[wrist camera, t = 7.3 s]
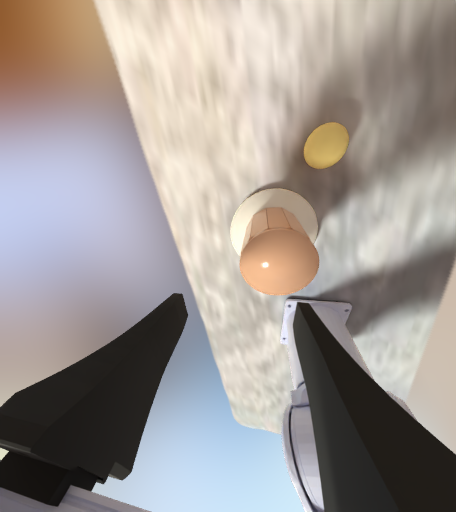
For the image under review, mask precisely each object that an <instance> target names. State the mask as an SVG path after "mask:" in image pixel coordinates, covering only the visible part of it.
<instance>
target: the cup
mask: <svg viewBox="0 0 456 512" xmlns="http://www.w3.org/2000/svg"><path fill="white" fill-rule="evenodd" d="M318 268H319V256H318V252H317V250H316V248H315V246H314V245H313V243H312V242H311V240H310V238H309V236H308V235H307V233H306V232H305V230H304V229H303V227H302V226H301V224H300V223H299V221H298V220H297V218H296V217H295V215H294V214H293V213H291V212H289V211H287V210H286V209H284V208H282V207H269V208H264V209H263V210H261V211H259V212H258V213H256V214H254V215H253V216H252V218H251V220H250V222H249V223H248V225H247V227H246V231H245V236H244V240H243V245H242V249H241V257H240V271H241V274H242V276H243V278H244V279H245V281H246V282H247V283H248V284H249V285H250V286H251V287H253V288H254V289H256V290H257V291H260V292H262V293H265V294H269V295H287V294H291V293H294V292H297V291H299V290H301V289H303V288H304V287H306V286H307V285H308V284H309V283H310V282H311V281H312V280H313V279H314V277H315V275H316V273H317V271H318Z"/></svg>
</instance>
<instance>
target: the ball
mask: <svg viewBox="0 0 456 512" xmlns="http://www.w3.org/2000/svg"><path fill="white" fill-rule="evenodd" d="M348 143H349V135H348V132H347V130H346V128H345V127H344V126H343V125H341V124H339V123H335V122H330V123H326V124H323V125H321V126H319V127H318V128H316V129H315V130H314V131H313V132H312V133H311V134H310V136H309V137H308V139H307V141H306V143H305V146H304V158H305V160H306V162H307V164H308V165H309V166H311V167H313V168H316V169H324V168H328V167H330V166H332V165H334V164H335V163H337V162H338V161H339V160H340V159H341V158H342V156H343V155H344V153H345V152H346V150H347V147H348Z"/></svg>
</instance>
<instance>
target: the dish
mask: <svg viewBox="0 0 456 512" xmlns="http://www.w3.org/2000/svg"><path fill="white" fill-rule="evenodd" d="M269 207H282V208H284V209H286V210H287V211H289V212H291V213H293V214H294V215H295V217H296V218H297V220H298V221H299V223H300V224H301V226H302V227H303V229H304V230H305V232H306V233H307V235H308V236H309V238H310V240H311V242H312V243H313V244H314V242H315V240H316V236H317V231H318V222H317V217H316V214H315V212H314V210H313V208H312V206H311V205H310V204H309V202H307V201H306V200H305V199H304V198H303V197H302V196H300V195H299V194H297V193H295V192H293V191H290V190H287V189H281V188H272V189H266V190H262V191H259V192H257V193H255V194H253V195H251V196H250V197H249V198H247V199H246V200H245V201H244V202H243V203H242V204H241V205H240V206H239V208H238V209H237V211H236V213H235V215H234V217H233V220H232V223H231V240H232V244H233V246H234V248H235V250H236V252H237V253H238V254H239V256H240V257H241V249H242V245H243V240H244V236H245V231H246V227H247V225H248V223H249V222H250V220H251V218H252V216H253V215H254V214H256V213H258V212H259V211H261V210H263V209H264V208H269Z"/></svg>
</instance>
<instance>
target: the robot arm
mask: <svg viewBox="0 0 456 512" xmlns="http://www.w3.org/2000/svg"><path fill="white" fill-rule="evenodd" d="M351 310H352V305H351V304H350V303H342V302H328V301H314V300H300V299H287V300H286V302H285V309H284V317H283V324H282V331H281V338H280V343H281V344H285V345H287V348H288V355H289V362H290V369H291V375H292V382H293V386H294V389H295V390H293V391H291V398H292V403H290V404H288V405H287V406H286V408H285V411H284V415H283V420H282V444H283V452H284V457H285V461H286V465H287V468H288V472H289V475H290V478H291V481H292V483H293V485H294V488H295V489H296V491H297V493H298V496H299V498H300V500H301V503H302V505H303V508H304V510H305V512H456V454H454V453H453V452H452V451H451V450H450V449H448V448H447V447H446V446H445V445H444V444H443V443H442V442H440V441H439V440H438V439H437V438H436V437H435V436H433V435H432V434H431V433H430V432H429V431H428V430H426V429H425V428H424V427H423V426H422V425H421V424H420V423H419V422H418V421H417V420H416V418H415V417H414V415H413V414H412V412H411V411H410V409H409V408H408V406H407V405H406V404H405V402H404V401H403V400H402V399H400V398H398V397H397V396H394V395H393V394H392V393H391V392H389V391H387V392H385V391H384V390H383V389H382V388H381V387H380V386H379V385H378V384H377V383H376V382H375V381H374V379H373V377H372V375H371V373H370V371H369V369H368V368H367V366H366V364H365V362H364V360H363V358H362V356H361V354H360V352H359V350H358V348H357V347H356V345H355V343H354V341H353V339H352V337H351V335H350V333H349V331H348V329H347V327H346V326H345V324H346V321H347V319H348V317H349V314H350V312H351ZM187 317H188V313H187V310H186V306H185V302H184V298H183V295H182V294H177V293H174V294H172V295H171V296H170V297H169V298H167V299H166V300H165V301H164V302H163V303H161V304H160V305H159V306H158V307H157V308H156V309H154V310H153V311H152V312H151V313H149V314H148V315H147V316H146V317H145V318H143V319H142V320H141V321H139V322H138V323H137V324H135V325H134V326H133V327H131V328H130V329H129V330H127V331H126V332H125V333H123V334H122V335H120V336H119V337H117V338H116V339H115V340H113V341H111V342H110V343H109V344H107V345H105V346H104V347H102V348H100V349H99V350H97V351H95V352H94V353H92V354H90V355H89V356H87V357H85V358H84V359H82V360H80V361H78V362H76V363H75V364H73V365H71V366H69V367H67V368H65V369H64V370H62V371H60V372H58V373H56V374H54V375H52V376H50V377H48V378H46V379H44V380H42V381H40V382H38V383H35V384H34V385H31V386H29V387H27V388H25V389H23V390H21V391H19V392H17V393H15V394H14V395H13V396H12V397H11V398H10V399H8V400H7V401H6V402H5V403H4V404H3V405H2V406H1V407H0V448H3V449H5V450H8V451H9V452H8V453H7V454H6V455H5V457H4V458H3V459H2V460H0V512H150V511H147V510H144V509H141V508H138V507H135V506H132V505H129V504H126V503H123V502H120V501H117V500H114V499H111V498H108V497H105V496H102V495H99V494H96V493H93V492H91V491H92V489H93V487H94V485H95V483H96V482H98V483H101V484H104V483H105V482H106V480H107V477H108V476H109V477H113V478H116V479H119V480H123V479H125V478H126V477H127V476H128V475H129V474H130V473H131V472H132V469H133V465H134V461H135V458H136V454H137V451H138V447H139V444H140V441H141V437H142V434H143V431H144V428H145V425H146V422H147V418H148V415H149V412H150V409H151V406H152V404H153V400H154V398H155V395H156V392H157V389H158V386H159V384H160V381H161V378H162V375H163V373H164V371H165V368H166V366H167V364H168V362H169V360H170V357H171V355H172V353H173V351H174V349H175V347H176V345H177V343H178V340H179V338H180V336H181V334H182V332H183V329H184V326H185V323H186V320H187Z"/></svg>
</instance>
